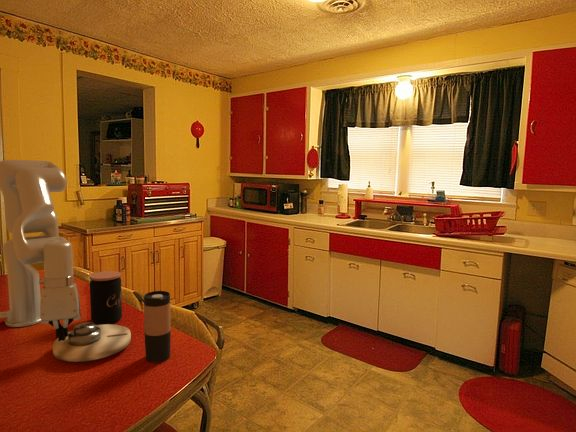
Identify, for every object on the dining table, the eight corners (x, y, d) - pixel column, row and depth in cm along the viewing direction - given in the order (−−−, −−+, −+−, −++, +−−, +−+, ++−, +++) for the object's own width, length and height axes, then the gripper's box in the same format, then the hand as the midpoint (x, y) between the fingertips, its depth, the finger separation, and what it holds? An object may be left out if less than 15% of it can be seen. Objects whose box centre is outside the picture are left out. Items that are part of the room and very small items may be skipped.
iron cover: (65, 347, 112) (64, 333, 112) (72, 335, 121) (71, 321, 120) (98, 344, 115) (98, 329, 115) (103, 332, 124) (102, 318, 123)
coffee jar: (110, 327, 136) (108, 279, 134) (84, 324, 138) (82, 277, 136) (128, 316, 147) (126, 272, 145) (104, 314, 149) (102, 270, 147)
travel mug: (149, 351, 119) (147, 290, 117) (173, 351, 120) (172, 290, 117) (141, 363, 111) (140, 298, 109) (167, 363, 112) (167, 298, 110)
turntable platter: (45, 366, 105) (44, 359, 105) (60, 334, 125) (60, 328, 125) (130, 354, 113) (129, 348, 113) (131, 326, 134) (131, 320, 133)
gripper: (27, 287, 108) (30, 348, 110) (85, 282, 113) (87, 340, 115) (33, 280, 115) (37, 337, 117) (88, 276, 120) (91, 331, 122)
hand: (62, 339), depth 116 cm, fingers closed
